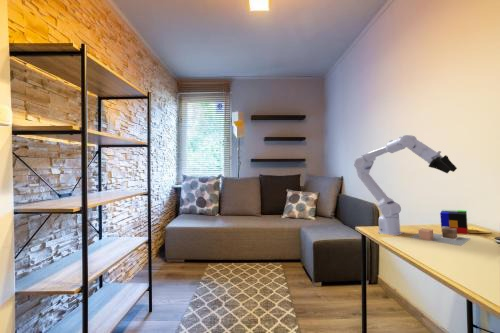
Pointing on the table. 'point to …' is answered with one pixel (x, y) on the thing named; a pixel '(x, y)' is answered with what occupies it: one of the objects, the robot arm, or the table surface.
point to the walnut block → (449, 233)
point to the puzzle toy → (454, 220)
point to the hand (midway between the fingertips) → (452, 170)
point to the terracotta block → (426, 234)
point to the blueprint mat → (445, 239)
